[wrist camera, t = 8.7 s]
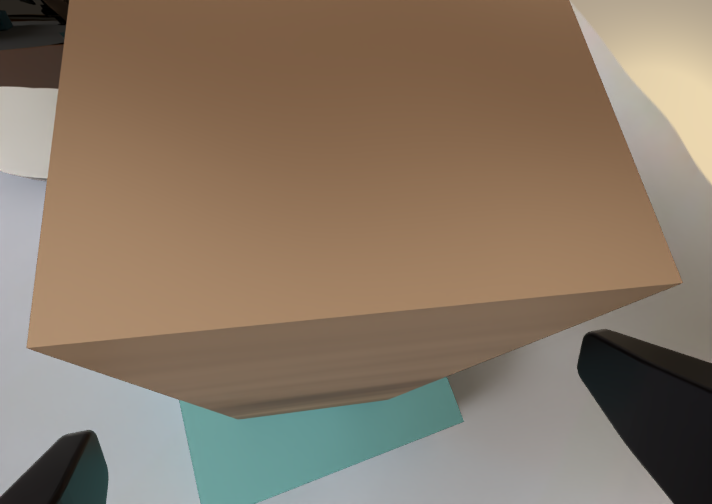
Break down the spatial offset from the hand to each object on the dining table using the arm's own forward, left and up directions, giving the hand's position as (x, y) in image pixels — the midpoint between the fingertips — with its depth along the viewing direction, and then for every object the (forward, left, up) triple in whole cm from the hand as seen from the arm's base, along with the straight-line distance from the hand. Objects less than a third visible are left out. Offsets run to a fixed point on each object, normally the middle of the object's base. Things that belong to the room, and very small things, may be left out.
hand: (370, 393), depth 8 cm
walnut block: (+2, -1, -8) cm, 8 cm away
